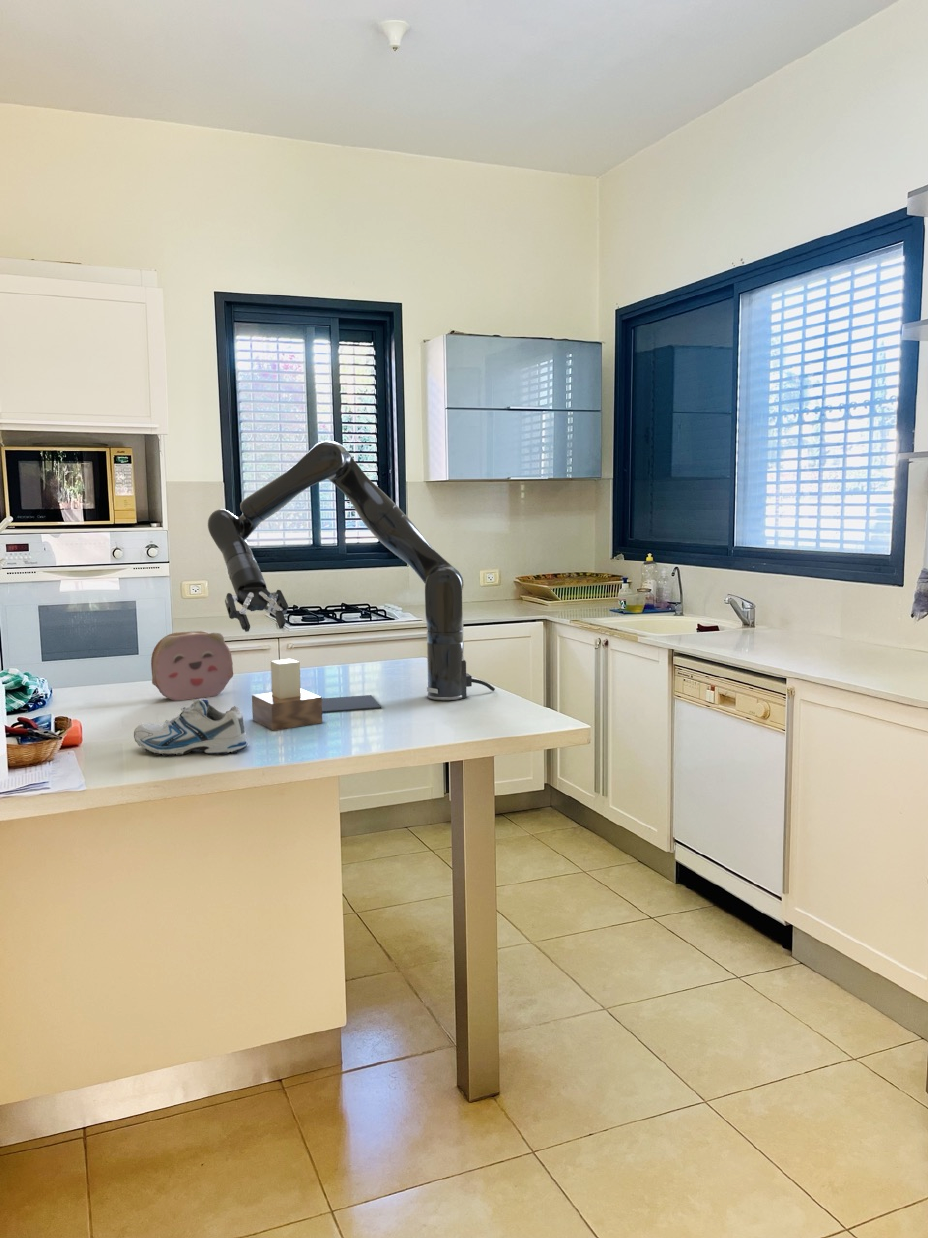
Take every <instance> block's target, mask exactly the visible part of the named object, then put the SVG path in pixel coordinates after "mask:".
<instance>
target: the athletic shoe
mask: <svg viewBox="0 0 928 1238" xmlns="http://www.w3.org/2000/svg"><path fill="white" fill-rule="evenodd" d="M180 710H181V712H180V714H179V715H177V716H176V717H173V718H172V719H171V720H165V722H164V723H163V724H158V723H151V722H147V723H146V722H143V723H139V725H138V726H136V727H135V729H134V731H133V737H134V738H133V739H134V742H135V743H136V744H137V746H139V747H141V748H142V749H143V750H144V751H145V752H146V753H147V752H151V753H152V754H154V755H155V756H161V755H162V756H164V757H166V756H172V757H173V756H175V755H176V756H184V755H188V754H190V753H191V752H192V751H194V750H195V751H196V750H198V751H201V752H204V753H206V754H207V755H209V756H222V755H227V754H229V753H230V752H231V753H232V754H236V753H238V752H240V751H243V749H245V748H246V747H247V746H248V744H249V742H248V739H247V738H248V736H247V733H246V730H245V723H244V722H245V721H244V717H243V715H242V714H243V713H242V711H241V710H240V708H239V707H237V706H231V707H230V709H229V710H227V711H225V712H222V711H220V710H218V709H217V708H216V707H215V706H213V705H212V704H210V703H209V700H208V699H206V698H195V700H194V701H193V702H192V704H191V705H190V706H182V707H181V708H180Z"/></svg>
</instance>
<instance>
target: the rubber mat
mask: <svg viewBox="0 0 928 1238" xmlns="http://www.w3.org/2000/svg"><path fill="white" fill-rule="evenodd" d="M378 709H382V706H381V704H380V703H379V702H378V701H377V700H376V698H374V696H373V695H372V694H365V695H352V696H336V697H325V698H324V697H322V714H323V713H338V712H351V711H365V710H378Z"/></svg>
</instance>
